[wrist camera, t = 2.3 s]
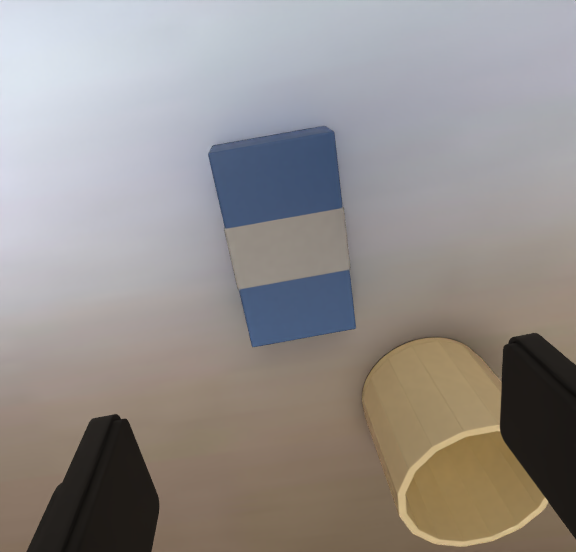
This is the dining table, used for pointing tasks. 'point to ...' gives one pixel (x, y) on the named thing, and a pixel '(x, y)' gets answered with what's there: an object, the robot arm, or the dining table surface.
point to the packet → (286, 233)
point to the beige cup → (446, 444)
